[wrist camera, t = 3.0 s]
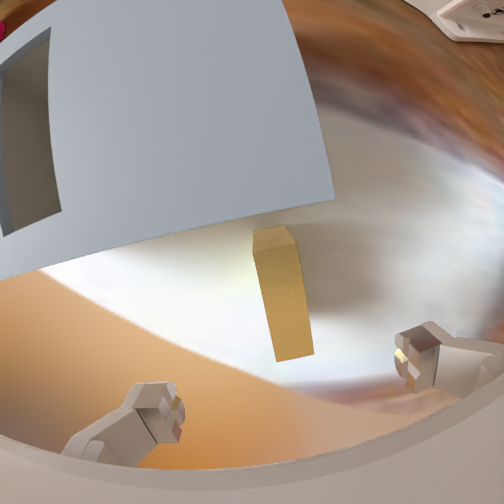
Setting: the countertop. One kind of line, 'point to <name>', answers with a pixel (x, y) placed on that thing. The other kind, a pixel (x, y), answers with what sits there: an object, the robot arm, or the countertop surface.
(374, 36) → the countertop surface
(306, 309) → the block
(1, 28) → the pepper mill
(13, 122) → the coin box
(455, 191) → the countertop surface
